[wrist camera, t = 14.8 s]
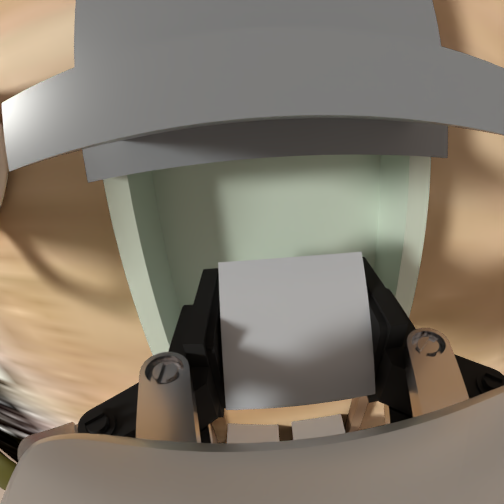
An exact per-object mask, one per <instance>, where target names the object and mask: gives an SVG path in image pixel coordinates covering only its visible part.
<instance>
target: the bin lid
mask: <svg viewBox="0 0 504 504" xmlns="http://www.w3.org/2000/svg"><path fill="white" fill-rule="evenodd" d="M74 59H75V67H74V68H72V69H69V70H67V71H65V72H62V73H60V74H58V75H55V76H53V77H51V78H49V79H47V80H44V81H42V82H40V83H38V84H36V85H34V86H32V87H30V88H28V89H26V90H24V91H22V92H20V93H19V94H17V95H15V96H13V97H11V98H9V99H8V100H6V101H4V102H3V103H2V117H3V129H4V138H5V146H6V154H7V160H8V166H9V171H12V170H15V169H18V168H21V167H24V166H27V165H30V164H33V163H36V162H40V161H43V160H46V159H49V158H53V157H56V156H60V155H64V154H67V153H71V152H75V151H79V150H83V157H84V163H85V169H86V175H87V180H88V183H89V182H93V181H98V180H103V179H108V178H113V177H119V176H124V175H130V174H135V173H141V172H147V171H153V170H160V169H167V168H173V167H181V166H188V165H196V164H204V163H213V162H223V161H233V160H244V159H256V158H269V157H286V156H307V155H405V156H425V157H440V158H447V156H448V126H451V127H458V128H465V129H471V130H478V131H483V132H489V133H494V134H499V135H504V68H502V67H499V66H497V65H494V64H492V63H489V62H487V61H484V60H482V59H479V58H476V57H473V56H470V55H467V54H464V53H461V52H458V51H455V50H452V49H448V48H445V47H441V41H440V35H439V30H438V24H437V19H436V15H435V10H434V6H433V2H432V0H76V8H75V31H74Z"/></svg>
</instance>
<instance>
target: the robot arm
mask: <svg viewBox="0 0 504 504" xmlns="http://www.w3.org/2000/svg"><path fill="white" fill-rule="evenodd" d="M362 258H363V264H364V271H365V278H366V286H367V293H368V302H369V310H370V320H371V330H372V342H373V355H374V372H375V394H372V395H367V398H368V401H369V403H370V402H375V401H379V402H381V403H384V414H385V425H382V426H378V427H373V428H369V429H364V430H359V431H354V432H348V433H343V434H337V435H330V436H323V437H316V438H308V439H299V440H289V441H276V442H260V443H213V439H212V432H211V426H210V423H212V422H213V421H214V420H216V419H217V418H218V417H223V415H224V408H226V402H225V388H224V373H223V356H222V339H221V319H220V297H219V272H218V268H212V269H203V272H202V275H201V279H200V282H199V286H198V289H197V293H196V296H195V300H194V303H193V305H183V307H182V309H181V312H180V315H179V319H178V322H177V325H176V328H175V331H174V334H173V338H172V341H171V344H170V347H169V351H168V352H162V353H158V354H156V355H154V356H151V357H150V358H149V359H147V360H146V361H145V362H144V364H143V365H142V366H141V370H140V375H139V383H137V384H135V385H133V386H132V387H130V388H128V389H127V390H125V391H123V392H121V393H120V394H118V395H116V396H114V397H112V398H111V399H109V400H107V401H105V402H103V403H102V404H100V405H98V406H96V407H94V408H93V409H91V410H89V411H88V412H86V413H85V414H84V415H83V416H82V417H81V419H80V421H79V423H78V424H77V425H75V424H74V423H73V422H71V423H68V424H65V425H62V426H59V427H56V428H53V429H50V430H46V431H43V432H40V433H37V434H33V435H30V436H28V437H26V438H24V439H23V440H22V441H21V442H20V444H19V447H18V464H17V465H16V467H15V469H14V471H13V473H12V475H11V478H10V480H9V482H8V485H7V487H6V490H5V493H4V496H3V498H2V501H1V504H504V376H503V375H502V374H501V373H500V372H499V371H497V370H495V369H492V368H490V367H487V366H484V365H482V364H479V363H476V362H473V361H471V360H468V359H465V358H463V357H460V356H457V355H455V354H454V353H453V350H452V347H451V345H450V342H449V341H448V339H447V337H446V336H445V335H444V334H442V333H441V332H439V331H437V330H435V329H431V328H419V329H415V327H414V325H413V324H412V322H411V321H410V319H409V318H408V316H407V314H406V313H405V311H404V310H403V308H402V307H401V305H400V304H399V302H398V301H397V299H396V298H395V296H394V295H393V293H392V292H391V291H390V289H388V288H386V287H385V286H384V284H383V283H382V281H381V280H380V278H379V277H378V276H377V274H376V273H375V271H374V270H373V268H372V267H371V265H370V264H369V263H368V261H367V260H366V258H365V257H362Z"/></svg>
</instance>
